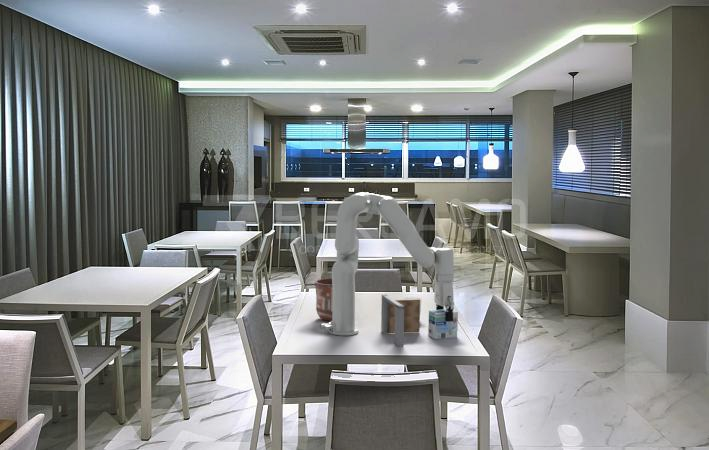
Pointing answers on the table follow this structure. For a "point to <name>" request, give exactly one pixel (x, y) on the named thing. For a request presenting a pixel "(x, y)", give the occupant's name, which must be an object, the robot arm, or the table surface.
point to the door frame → (398, 319)
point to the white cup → (413, 299)
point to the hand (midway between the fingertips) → (444, 318)
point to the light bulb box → (442, 324)
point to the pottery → (324, 299)
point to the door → (405, 316)
